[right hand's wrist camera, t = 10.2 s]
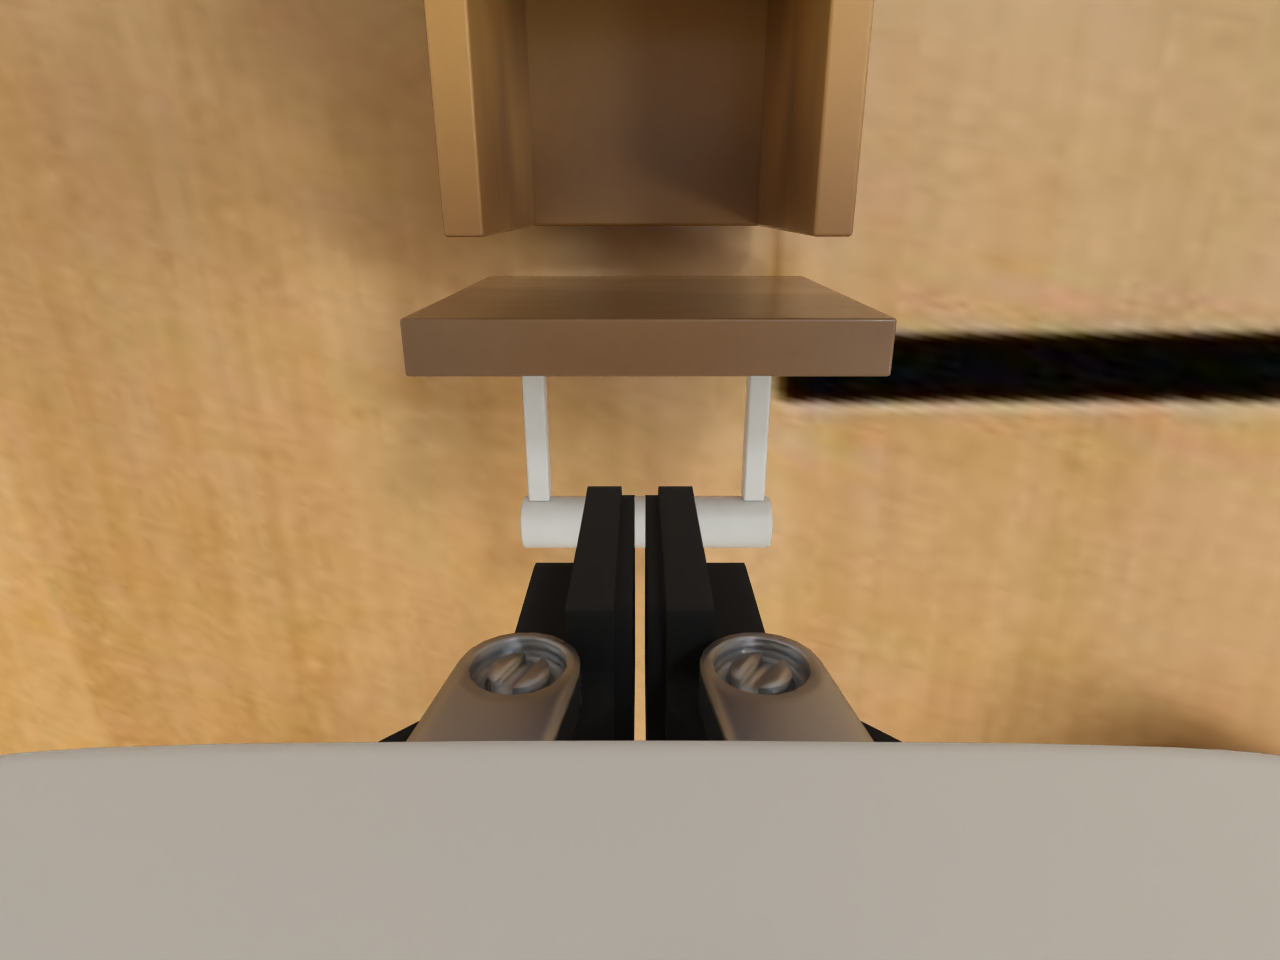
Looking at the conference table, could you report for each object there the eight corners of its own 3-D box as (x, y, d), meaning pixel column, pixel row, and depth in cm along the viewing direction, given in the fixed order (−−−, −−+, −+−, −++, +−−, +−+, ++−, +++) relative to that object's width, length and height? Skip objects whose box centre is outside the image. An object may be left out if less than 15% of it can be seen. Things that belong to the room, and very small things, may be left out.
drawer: (788, 487, 27) (861, 629, 18) (502, 487, 27) (433, 628, 18) (864, -573, 17) (1095, -1379, 9) (429, -571, 17) (211, -1372, 9)
